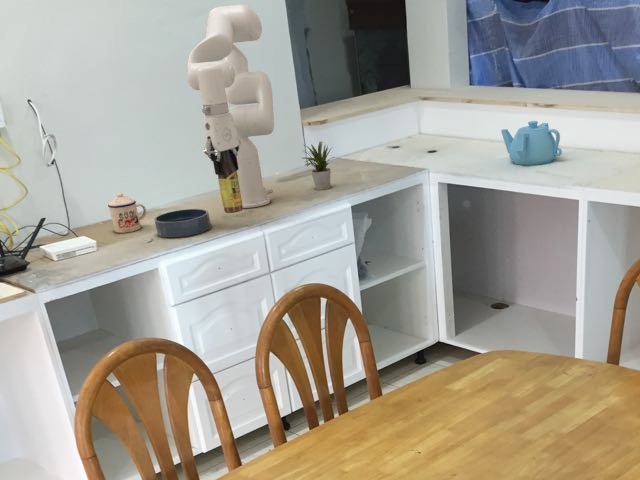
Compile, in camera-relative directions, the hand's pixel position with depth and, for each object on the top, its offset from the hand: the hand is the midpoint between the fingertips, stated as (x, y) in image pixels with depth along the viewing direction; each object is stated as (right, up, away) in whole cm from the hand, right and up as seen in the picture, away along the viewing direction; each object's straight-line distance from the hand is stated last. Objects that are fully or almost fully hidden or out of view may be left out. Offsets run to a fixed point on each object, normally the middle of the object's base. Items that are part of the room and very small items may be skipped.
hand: (227, 171), depth 293 cm
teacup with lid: (-35, -12, +19) cm, 42 cm away
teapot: (+104, +27, +57) cm, 122 cm away
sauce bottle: (+1, -10, +7) cm, 12 cm away
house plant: (+25, +14, +49) cm, 57 cm away
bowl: (-16, -16, +10) cm, 24 cm away
